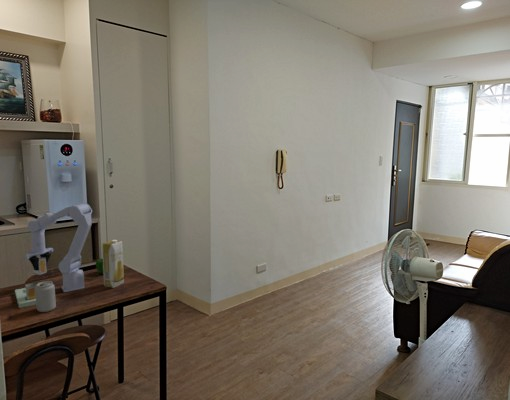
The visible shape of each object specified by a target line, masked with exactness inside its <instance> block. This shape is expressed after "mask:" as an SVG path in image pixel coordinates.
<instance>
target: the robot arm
mask: <svg viewBox="0 0 510 400" xmlns="http://www.w3.org/2000/svg"><path fill="white" fill-rule="evenodd" d="M92 213H93V209H92V208H91V206H90V205H89V204H88V203H87V202H83V203H80V204H76V205H75V204H74V205H71V206H68V207H64V208H62V209H61V210H58V211H57V212H55V213H51V212H46V213H44V215H42V216H38V217H37V218H36V219H31V220H29V221H28V223H27V228H28V230H29V231H30V233H31V234H30V235H31V236H30V237H31V250H32V251H30V252H28V253H26V254H24V255H23V257H24V260H25V259H26V260H28V261H29V262H30V263H31V264H32V268H33V271H34V270H36V271H38V262H39V258H37V257H46V268H47V267H48V261H49V259H50V258H51V253H53V252H54V248H53V247H47V248H46V239H45V233H46V232H45V231H46V229H47V228H48V227H50V226H52V225H54V224H56V223H57V221H58V220H60V219H61V218H64V217H70V218H71V219H72V221H73V222H74V223H76V225H77V229H76V232H75V234H74V237H73V239H72V242H71V244H70V247H69V249H68V252H67V254H66V255H65V256H64V257H62V258H63V259H62V260H61V261H60V262H59V264H58V270H59V271H60V272H61V274H62V285H61V289H62V291H63V293H67V292H73V291H77V290H83V289H85V288H86V287H85V276H84V275H85V274H84V271H83V269H80V266H81V265H82V255H81V254H82V253H81V252H82V250H83V248H84V245H85V243H86V240H87V237H88V235H89V232H90V229H91V228H92V224H93V223H92Z"/></svg>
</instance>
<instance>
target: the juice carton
mask: <svg viewBox="0 0 510 400" xmlns="http://www.w3.org/2000/svg"><path fill="white" fill-rule="evenodd" d="M101 249H102V251H101V252H102V254H101V255H102V258H103V276H102V277H103V286H104V287H107V288H113V289H114V288H116V287H119V286H121V285H122V284H124V282H125V278H124V276H125V275H124V274H125V273H124V272H125V271H124V250H123V241H121V240H118V239H112V240H110V241H107V242H103V243H101Z"/></svg>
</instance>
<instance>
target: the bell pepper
mask: <svg viewBox="0 0 510 400" xmlns="http://www.w3.org/2000/svg"><path fill="white" fill-rule="evenodd" d="M95 267H96V270H97V272H98V274H101V275H102V274H103V257H102V258H97V259H96V262H95Z"/></svg>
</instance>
